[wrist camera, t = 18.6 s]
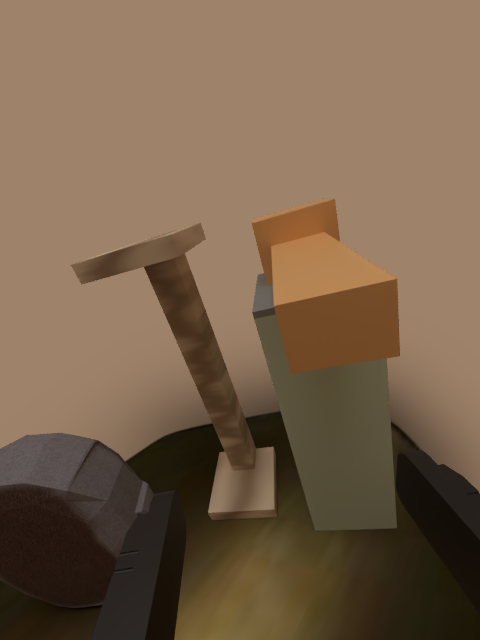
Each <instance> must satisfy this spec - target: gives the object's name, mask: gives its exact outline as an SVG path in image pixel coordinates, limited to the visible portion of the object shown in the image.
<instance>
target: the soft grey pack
mask: <svg viewBox="0 0 480 640" xmlns="http://www.w3.org/2000/svg"><path fill="white" fill-rule="evenodd" d="M153 496H154V494H153V492H152V490H151V488H150V486H149V485H148V483H146V482H144V481H142V480H141V479H139V478H138V477H137V474H136V473H135V472H134V471H133V470H132V469H131V468H130V467H129V465H128V464H127V463H126V462H125V461H124V460H123V459H122V458H121V456H120V455H119V454H118V453H116V452H115V451H113V450H112V449H110V448H109V447H107V446H106V445H104V444H103V443H101V442H100V441H98V440H94V439H89V438H85V437H80V436H75V435H69V434H63V433H52V434H39V435H27V436H24V437H22V438H20V439H18V440H17V441H15V442H13V443H11V444H9V445H7V446H5V447H3V448H1V449H0V580H1V581H3V582H5V583H7V584H9V585H10V586H12V587H14V588H16V589H18V590H19V591H21V592H23V593H25V594H27V595H29V596H32V597H35V598H37V599H40V600H43V601H46V602H49V603H51V604H54V605H57V606H62V607H69V608H80V607H89V606H98V605H102V604H103V602H104V599H105V596H106V593H107V590H108V587H109V584H110V581H111V578H112V575H113V574H114V569H115V566H116V563H117V560H118V557H119V556H120V551H121V548H122V545H123V542H124V539H125V536H126V533H127V531H128V530H129V528H130V527H131V525H132V524H133V522H134V521H135V519H136V518H137V516H138V515H142V514H148V512H149V508H150V505H151V501H152V498H153Z"/></svg>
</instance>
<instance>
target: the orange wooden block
mask: <svg viewBox="0 0 480 640" xmlns="http://www.w3.org/2000/svg"><path fill="white" fill-rule="evenodd" d="M252 226H253V230H254V234H255V238H256V242H257V246H258V250H259V254H260V258H261V262H262V266H263V270H264V274H265V278H266V282H267V286H268V285H272V284H273V298H274V308H275V313H276V317H277V321H278V325H279V329H280V333H281V337H282V341H283V345H284V349H285V353H286V357H287V361H288V365H289V369H290V373H291V374H293V373H299V372H305V371H312V370H318V369H324V368H330V367H336V366H342V365H348V364H354V363H360V362H367V361H373V360H379V359H385V358H391V357H397V356H400V346H399V319H398V294H397V293H398V292H397V279H396V278H395V277H394V276H392V275H390V274H389V273H387V272H386V271H384V270H383V269H381V268H380V267H378V266H376V265H375V264H373V263H372V262H370V261H369V260H367V259H365V258H364V257H362V256H361V255H359V254H358V253H356V252H355V251H353V250H352V249H350V248H348V247H347V246H345V245H344V244H342V243H341V242H340V238H339V230H338V222H337V214H336V206H335V199H321V200H317V201H314V202H311V203H308V204H304V205H300V206H297V207H294V208H290V209H287V210H284V211H280V212H277V213H273V214H270V215H267V216H264V217H260V218H257V219H254V221H253V222H252Z"/></svg>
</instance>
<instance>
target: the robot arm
mask: <svg viewBox="0 0 480 640" xmlns="http://www.w3.org/2000/svg"><path fill="white" fill-rule="evenodd" d="M396 489H397V493H398V496H399V498H400V500H401V502H402V504H403V506H404V507H405V509H406V510H407V511H408V513H409V514H410V516H411V517H412V519H413V520H414V521H415V523H416V524H417V526H418V527H419V529H420V530H421V532H422V533H423V534H424V536H425V537H426V539H427V540H428V542H429V543H430V544H431V546H432V547H433V549H434V550H435V552H436V553H437V554H438V556H439V557H440V559H441V560H442V562H443V563H444V565H445V566H446V567H447V569H448V570H449V572H450V573H451V575H452V576H453V577H454V579H455V580H456V582H457V583H458V585H459V586H460V587H461V589H462V590H463V592H464V593H465V595H466V596H467V598H468V599H469V600H470V602H471V603H472V605H473V606H474V608H475V609H476V610H477V612H478V613H479V615H480V494H479V492H478V490H477V489H476V488H475V487H474V486H472V485H471V484H470V483H469V482H468V481H467V480H466V479H465V478H464V477H463V476H462V475H460V474H458V473H457V472H455V471H454V470H452V469H450V468H449V467H447V466H446V465H444V464H442V465H437V464H436V463H435V462H434V461H433V460H432V458H431V457H430V456H429V455H428V454H426V453H425V452H424V451H422V450H417V451H411V452H405V453H400V454H398V458H397V474H396ZM185 545H186V523H185V518H184V515H183V511H182V507H181V503H180V499H179V495H178V492H177V491H176V490H175V491H169V492H163V493H157V494H154V496H153V498H152V501H151V505H150V508H149V512H148V514H142V515H138V516H137V518H136V519H135V521H134V522H133V524H132V525H131V527H130V528H129V530H128V531H127V533H126V536H125V539H124V542H123V545H122V548H121V551H120V556H119V557H118V560H117V563H116V566H115V569H114V574H113V575H112V578H111V581H110V584H109V587H108V590H107V593H106V596H105V599H104V602H103V605H102V608H101V611H100V614H99V617H98V620H97V623H96V626H95V629H94V632H93V635H92V638H91V640H174V636H175V627H176V619H177V611H178V603H179V594H180V586H181V578H182V570H183V562H184V553H185Z"/></svg>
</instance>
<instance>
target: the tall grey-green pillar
mask: <svg viewBox="0 0 480 640" xmlns="http://www.w3.org/2000/svg"><path fill="white" fill-rule="evenodd" d="M252 313H253V316H254V320H255V323H256V326H257V330H258V334H259V337H260V340H261V344H262V348H263V351H264V354H265V358H266V361H267V365H268V368H269V372H270V375H271V379H272V382H273V386H274V389H275V393H276V396H277V399H278V403H279V407H280V410H281V414H282V417H283V421H284V424H285V428H286V431H287V435H288V438H289V442H290V445H291V449H292V452H293V456H294V459H295V463H296V466H297V470H298V473H299V477H300V480H301V484H302V487H303V491H304V494H305V498H306V501H307V505H308V508H309V512H310V515H311V519H312V522H313V526H314V529H315V531H335V530H364V529H392V528H397V519H396V502H395V486H394V470H393V453H392V437H391V421H390V405H389V388H388V372H387V358H385V359H379V360H373V361H367V362H360V363H354V364H348V365H342V366H336V367H330V368H324V369H318V370H312V371H305V372H299V373H293V374H291V373H290V369H289V365H288V361H287V357H286V353H285V349H284V345H283V341H282V337H281V333H280V329H279V325H278V321H277V317H276V313H275V308H274V298H273V284H272V285H268V286H267V282H266V278H265V274H259V275H258V277H257V284H256V292H255V298H254V305H253V312H252Z"/></svg>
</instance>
